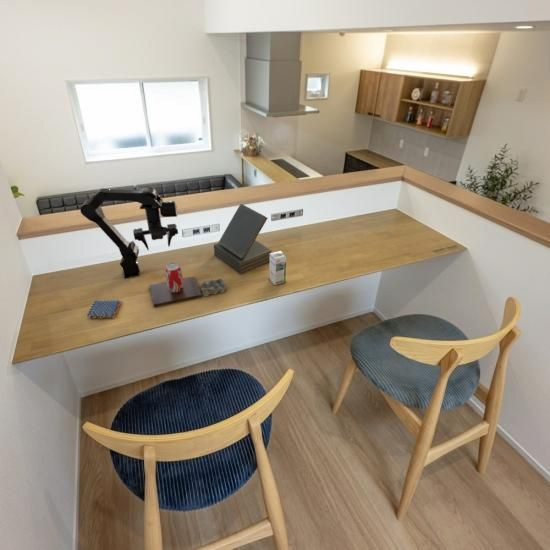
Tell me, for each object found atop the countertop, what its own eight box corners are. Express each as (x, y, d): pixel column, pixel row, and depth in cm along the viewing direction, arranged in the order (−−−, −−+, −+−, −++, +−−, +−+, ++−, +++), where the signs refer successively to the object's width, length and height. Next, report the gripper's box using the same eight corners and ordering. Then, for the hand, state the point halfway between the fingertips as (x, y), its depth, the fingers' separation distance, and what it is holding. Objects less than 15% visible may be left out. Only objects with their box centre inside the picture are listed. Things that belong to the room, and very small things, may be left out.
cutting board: (154, 307, 152) (153, 304, 151) (150, 287, 163) (149, 284, 163) (201, 297, 158) (201, 294, 158) (194, 278, 170) (194, 276, 169)
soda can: (180, 294, 157) (177, 271, 150) (165, 292, 158) (161, 269, 151) (186, 285, 163) (183, 263, 156) (172, 283, 164) (168, 260, 157)
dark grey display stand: (214, 254, 188) (210, 210, 174) (244, 243, 199) (243, 200, 185) (240, 274, 174) (239, 227, 160) (271, 260, 185) (272, 215, 171)
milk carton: (274, 285, 167) (275, 258, 159) (268, 279, 172) (269, 252, 163) (285, 282, 169) (287, 256, 161) (279, 276, 174) (280, 249, 166)
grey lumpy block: (203, 297, 158) (202, 290, 156) (199, 287, 164) (198, 280, 162) (226, 292, 162) (226, 285, 160) (222, 283, 168) (222, 275, 165)
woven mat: (114, 318, 145) (113, 314, 144) (87, 319, 144) (85, 315, 143) (121, 302, 154) (120, 298, 153) (95, 303, 153) (94, 299, 152)
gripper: (131, 227, 149) (138, 260, 158) (177, 221, 155) (182, 253, 164) (130, 216, 158) (136, 248, 166) (174, 211, 164) (178, 241, 172)
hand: (158, 248), depth 167 cm, fingers open, 9 cm apart
